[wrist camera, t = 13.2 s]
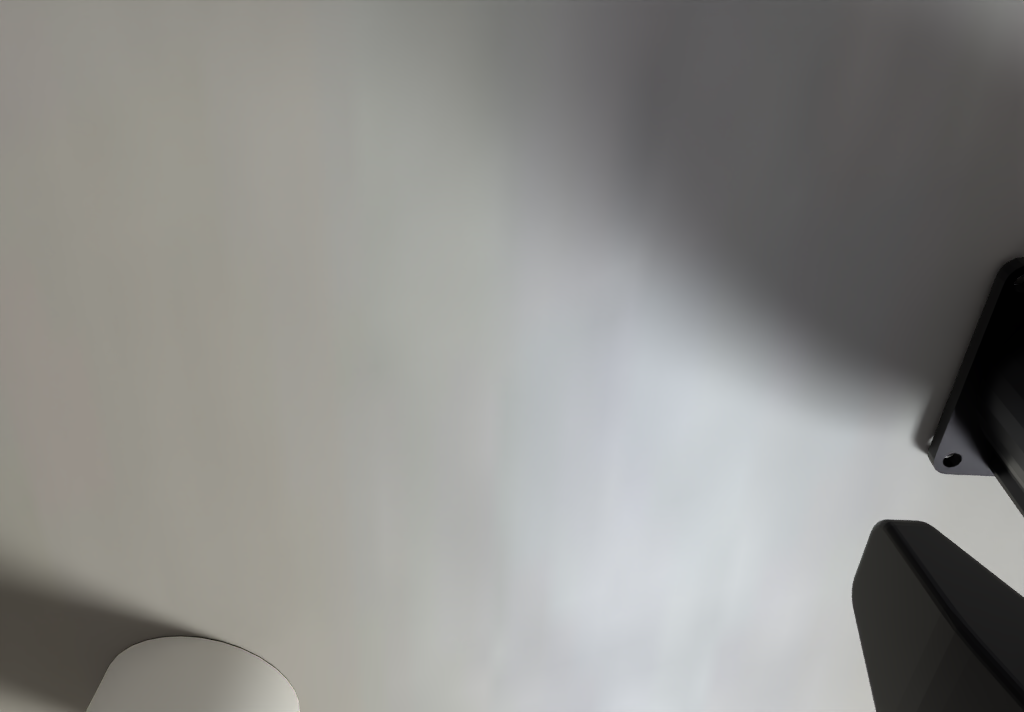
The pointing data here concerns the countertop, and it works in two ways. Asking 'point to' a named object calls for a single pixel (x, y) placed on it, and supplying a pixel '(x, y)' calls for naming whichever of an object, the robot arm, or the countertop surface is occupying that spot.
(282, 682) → the cylindrical container
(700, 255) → the countertop surface
